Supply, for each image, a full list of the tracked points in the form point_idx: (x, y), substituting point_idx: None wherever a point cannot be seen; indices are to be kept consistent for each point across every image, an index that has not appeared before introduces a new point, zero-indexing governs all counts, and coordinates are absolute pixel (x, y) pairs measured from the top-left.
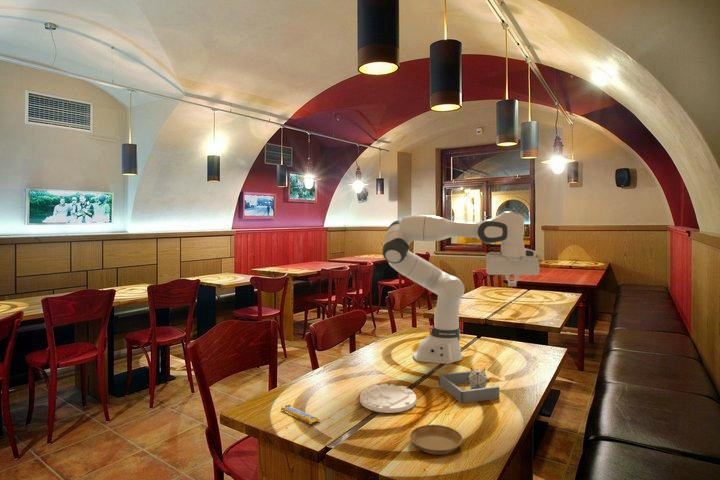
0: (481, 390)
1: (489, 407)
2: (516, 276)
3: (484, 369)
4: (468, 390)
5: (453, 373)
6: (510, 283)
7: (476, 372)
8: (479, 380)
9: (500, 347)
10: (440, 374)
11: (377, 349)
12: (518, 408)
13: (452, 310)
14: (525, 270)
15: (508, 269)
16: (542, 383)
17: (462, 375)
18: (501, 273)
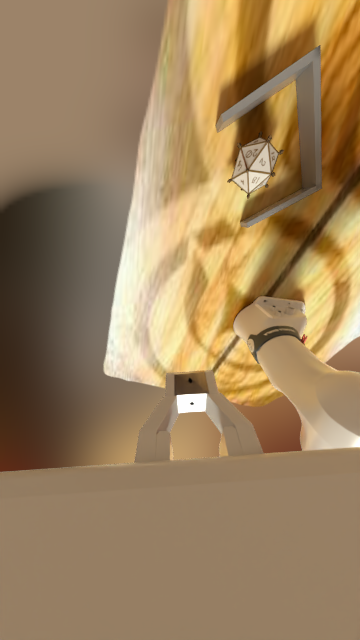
0: (264, 84)
1: (249, 44)
2: (163, 444)
3: (247, 169)
4: (299, 64)
5: (290, 201)
6: (205, 383)
7: (268, 148)
8: (258, 140)
9: (175, 366)
10: (317, 190)
11: (339, 337)
12: (188, 50)
13: (301, 363)
14: (30, 556)
15: (287, 560)
16: (131, 232)
17: (269, 209)
18: (337, 467)
